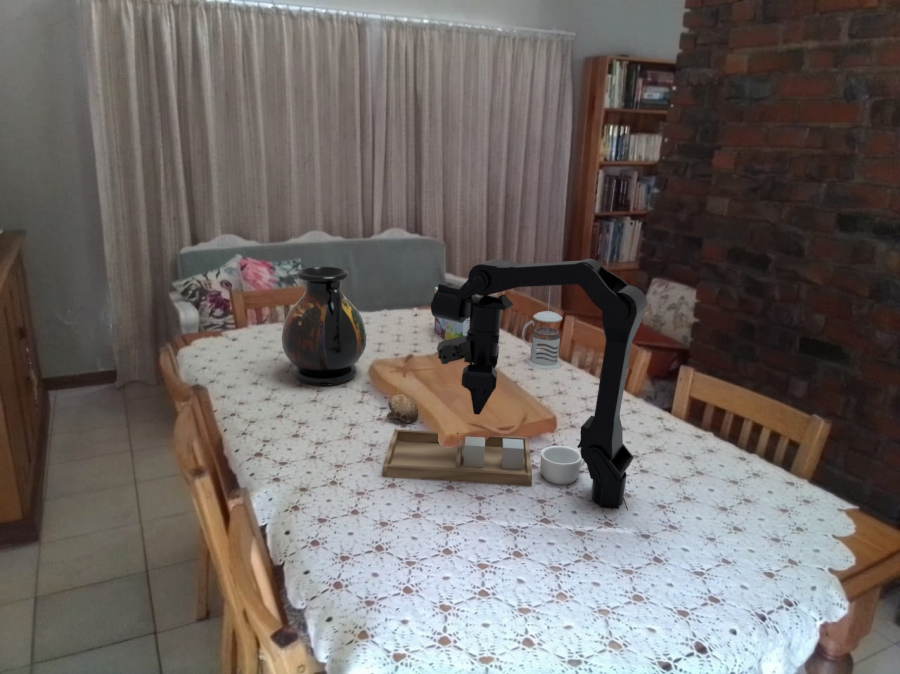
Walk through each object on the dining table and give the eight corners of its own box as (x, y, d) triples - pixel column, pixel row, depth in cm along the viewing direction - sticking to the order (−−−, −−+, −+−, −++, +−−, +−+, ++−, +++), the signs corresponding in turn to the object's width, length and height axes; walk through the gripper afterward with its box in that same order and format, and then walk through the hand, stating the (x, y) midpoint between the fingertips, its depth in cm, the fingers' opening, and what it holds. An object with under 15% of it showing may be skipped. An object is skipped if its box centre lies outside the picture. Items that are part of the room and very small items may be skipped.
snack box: (432, 332, 219) (433, 286, 214) (448, 330, 221) (449, 285, 217) (461, 352, 201) (463, 303, 196) (478, 350, 203) (480, 301, 199)
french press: (563, 370, 189) (571, 282, 182) (522, 368, 190) (528, 280, 182) (559, 358, 199) (566, 274, 191) (519, 356, 199) (525, 272, 191)
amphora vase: (380, 382, 176) (380, 276, 168) (300, 397, 165) (296, 284, 157) (346, 357, 194) (345, 260, 185) (272, 369, 183) (267, 266, 174)
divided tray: (531, 489, 127) (532, 475, 126) (382, 480, 129) (382, 466, 128) (527, 450, 143) (528, 437, 142) (394, 442, 144) (394, 429, 143)
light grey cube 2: (522, 469, 133) (523, 448, 131) (501, 468, 133) (503, 447, 132) (521, 459, 137) (523, 439, 135) (501, 458, 137) (502, 438, 136)
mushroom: (373, 408, 152) (390, 388, 151) (391, 409, 160) (408, 389, 158) (395, 433, 149) (413, 412, 148) (413, 433, 156) (430, 413, 155)
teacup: (554, 493, 126) (556, 467, 125) (530, 474, 133) (532, 450, 131) (596, 482, 131) (599, 457, 129) (572, 464, 137) (574, 440, 136)
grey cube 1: (483, 467, 133) (484, 446, 132) (463, 466, 133) (464, 445, 132) (484, 457, 137) (485, 437, 136) (464, 456, 137) (465, 436, 136)
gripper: (446, 310, 136) (441, 382, 141) (436, 339, 119) (431, 420, 124) (502, 314, 136) (495, 387, 141) (499, 345, 118) (492, 426, 123)
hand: (478, 404), depth 132 cm, fingers open, 9 cm apart
